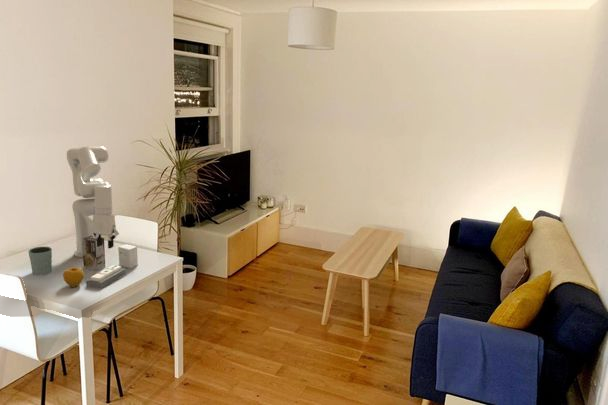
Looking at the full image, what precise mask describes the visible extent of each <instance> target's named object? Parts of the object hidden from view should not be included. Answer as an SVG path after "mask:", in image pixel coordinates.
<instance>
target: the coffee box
mask: <svg viewBox="0 0 608 405" xmlns="http://www.w3.org/2000/svg"><path fill="white" fill-rule="evenodd" d="M102 241H103V245H102V246H99V247H97V239H96V238H95V236H88V237H85V238H83V239H82V250H83V257H82V259H83V261H82V262H83V268H84V269H88V270H93V271H99V270H101V269H103V268H105V267H106V249H105V238H104V237H102Z"/></svg>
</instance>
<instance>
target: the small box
mask: <svg viewBox="0 0 608 405" xmlns="http://www.w3.org/2000/svg"><path fill="white" fill-rule="evenodd" d="M117 249H118V264H119V265H118V266H121V267H125V268H129V269H131V268H134V267H136V266H138V264H139V262H138V247H137V246H135V245H132V244H131V245H130V244H122V245H120V246H119V247H118V248H117Z"/></svg>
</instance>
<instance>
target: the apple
mask: <svg viewBox="0 0 608 405" xmlns="http://www.w3.org/2000/svg"><path fill="white" fill-rule="evenodd" d="M84 277H85V272H84V270H83V269H82V268H81V267H70V268H67V269H65V271H64V272H63V275H62V278H63V281H64V282H65V284H67V285H68V286H70V287H71V288H75V287H78V286H79V285H81V283H82V281H84V280H83V279H84Z"/></svg>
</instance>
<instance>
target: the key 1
mask: <svg viewBox="0 0 608 405" xmlns="http://www.w3.org/2000/svg"><path fill="white" fill-rule="evenodd" d="M90 278H91V280H93V281H99V282H100V281H102V280H103V279H105V278H106V275H103V274H99V272H98V273H96V274H94V275H92V276H90Z"/></svg>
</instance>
